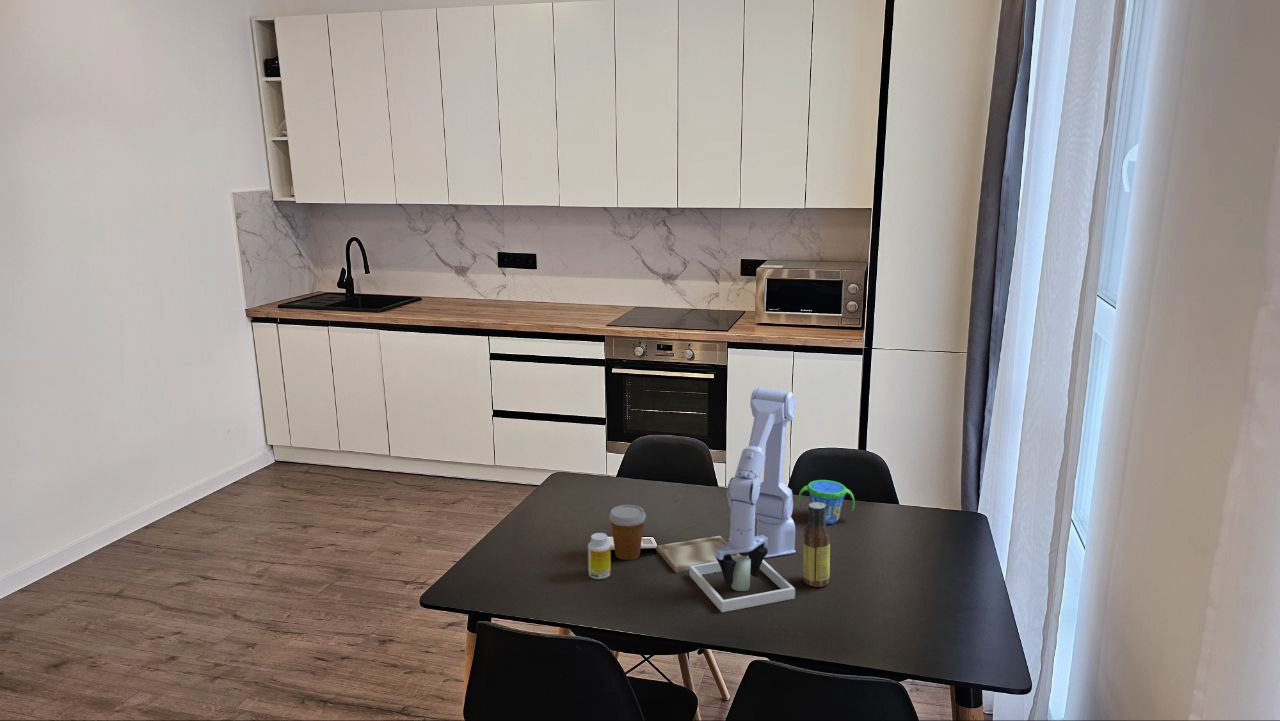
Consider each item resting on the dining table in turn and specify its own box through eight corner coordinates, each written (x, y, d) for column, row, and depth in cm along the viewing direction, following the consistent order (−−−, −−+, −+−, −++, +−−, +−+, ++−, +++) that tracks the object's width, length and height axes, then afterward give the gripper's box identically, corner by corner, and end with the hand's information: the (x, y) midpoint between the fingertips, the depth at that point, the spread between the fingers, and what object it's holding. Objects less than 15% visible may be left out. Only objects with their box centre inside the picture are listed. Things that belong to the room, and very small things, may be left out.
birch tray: (719, 540, 223) (720, 535, 222) (741, 561, 211) (741, 556, 210) (657, 550, 217) (657, 545, 217) (675, 573, 205) (676, 567, 205)
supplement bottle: (614, 576, 203) (614, 538, 201) (594, 582, 200) (593, 542, 198) (604, 567, 208) (604, 529, 206) (584, 572, 205) (583, 534, 203)
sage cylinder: (744, 581, 201) (745, 554, 199) (753, 589, 197) (754, 562, 195) (728, 584, 200) (729, 557, 198) (736, 592, 196) (737, 565, 194)
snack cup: (853, 515, 239) (856, 482, 237) (852, 530, 229) (855, 496, 227) (798, 509, 243) (800, 477, 241) (795, 524, 233) (797, 490, 231)
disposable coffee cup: (642, 564, 209) (642, 520, 207) (605, 561, 211) (604, 517, 208) (649, 548, 218) (649, 505, 216) (613, 545, 220) (613, 502, 218)
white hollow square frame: (757, 563, 210) (757, 554, 209) (794, 598, 193) (795, 588, 192) (689, 575, 204) (689, 565, 203) (721, 612, 187) (722, 602, 186)
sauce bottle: (830, 578, 202) (834, 502, 198) (827, 590, 197) (831, 511, 192) (803, 574, 204) (807, 498, 200) (799, 585, 199) (803, 508, 194)
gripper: (755, 513, 202) (753, 565, 205) (707, 527, 194) (706, 580, 197) (774, 523, 196) (772, 576, 199) (726, 538, 189) (724, 592, 192)
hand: (740, 579), depth 198 cm, fingers open, 7 cm apart
